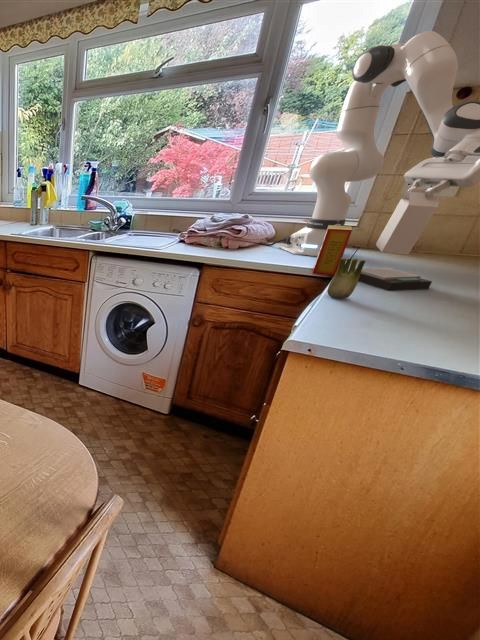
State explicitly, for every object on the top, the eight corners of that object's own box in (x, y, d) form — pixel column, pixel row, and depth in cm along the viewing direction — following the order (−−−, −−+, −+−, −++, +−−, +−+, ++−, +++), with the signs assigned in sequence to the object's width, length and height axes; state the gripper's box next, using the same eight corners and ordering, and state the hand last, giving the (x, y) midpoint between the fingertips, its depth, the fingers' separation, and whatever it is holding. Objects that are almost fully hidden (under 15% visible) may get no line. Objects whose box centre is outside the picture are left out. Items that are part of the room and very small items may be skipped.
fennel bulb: (352, 298, 131) (368, 258, 125) (345, 301, 129) (361, 261, 123) (330, 294, 135) (344, 255, 130) (322, 297, 133) (337, 257, 127)
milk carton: (408, 255, 139) (446, 192, 127) (381, 252, 141) (416, 190, 129) (401, 247, 144) (437, 186, 132) (374, 245, 146) (408, 185, 134)
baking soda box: (334, 275, 154) (352, 228, 146) (312, 273, 157) (328, 227, 150) (334, 270, 161) (351, 225, 153) (313, 268, 164) (328, 224, 156)
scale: (347, 277, 151) (351, 268, 150) (383, 276, 151) (387, 267, 150) (388, 290, 137) (393, 280, 135) (428, 289, 137) (433, 278, 136)
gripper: (427, 149, 136) (384, 184, 141) (500, 148, 118) (448, 188, 123) (434, 164, 138) (391, 198, 143) (507, 165, 120) (455, 204, 125)
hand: (418, 193), depth 133 cm, fingers closed on milk carton, 4 cm apart
